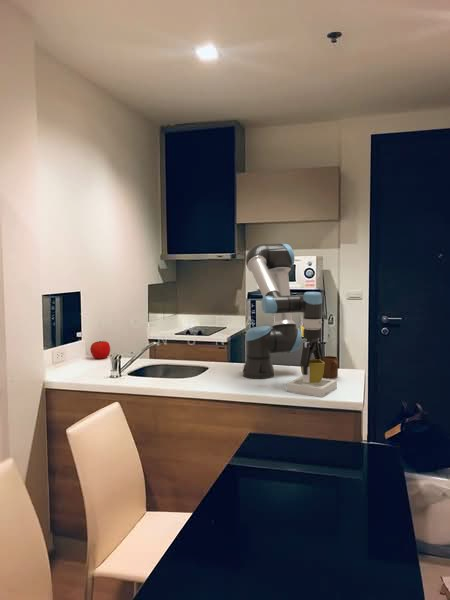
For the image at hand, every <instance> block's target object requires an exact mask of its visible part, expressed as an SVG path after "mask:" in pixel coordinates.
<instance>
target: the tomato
mask: <svg viewBox="0 0 450 600" xmlns="http://www.w3.org/2000/svg"><path fill="white" fill-rule="evenodd" d="M89 350H90V353H91V355H92V357H93V358H94V359H99V360H102V359H106V358H107V357H109V355H110V352H111V345H110V343H109V342H108V341H107V340H106V341H105V340H102V341H101V340H99V341H95V342H92V344H91V345H90V349H89Z"/></svg>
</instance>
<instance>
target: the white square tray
mask: <svg viewBox="0 0 450 600" xmlns="http://www.w3.org/2000/svg"><path fill="white" fill-rule="evenodd" d="M337 384H338V380H336V379H328V378H322V379H321V381H320V382H319V383H307V382H303V375H302V376H300V377H298V378H296V379H294V380H293V379H292V380H291V381H289V382H287V383H286V392H287V393H292V394H297V395H298V394H299V395H307V396H313V397H320V398H324V397H325V396H327V395H328V394H330V393H332V392H334V391H335V390H337V388H338V385H337Z"/></svg>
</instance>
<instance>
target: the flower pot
mask: <svg viewBox="0 0 450 600" xmlns="http://www.w3.org/2000/svg"><path fill="white" fill-rule="evenodd" d="M300 363H301V359H299V364H300ZM324 365H325V363H324V362H323V361H321V360H320V359H315V358H313V359H312V358H311V359H310V363H309V366H308V367H310V382H309V383H319V382H320V381H321V379H323V373H324ZM300 370H301V374H302V376H303V367H301V366H300Z"/></svg>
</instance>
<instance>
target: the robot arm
mask: <svg viewBox="0 0 450 600" xmlns="http://www.w3.org/2000/svg"><path fill="white" fill-rule="evenodd" d="M245 264H246V267H247V269H248V270H249V272H251V273H252V275H253V278H254V279H255V280H254V281H255V282H256V285H257V286H258V289H259V290H260V293H261V295H262V299H261V310H262V312H263V313H264V314H272V315H273V314H274V323H273V324H272V325H271V326H269V325H261V326H255V327H250V328H248V329H247V330H246V336H245V340H246V341H245V342H246V343H245V344H246V348H245V350H246V354H245V355H246V359H245V362H244V366H243V369H242V377H245V378H248V379H257V380H258V379H260V380H262V379H269V378H273V377H275V369H274V366H273V363H272V359H271V356H272V354H279V353H291V352H293V353H295V352H296V351H298V350H300V347H301V344H302V352H301V357H300V358H301V359H300V360H301V363H300V362H299V364H300V368H301V367H303V375H302V376H303V382H307V383H309V382H310V367H308V366H309V363H310V359H312V355H313V356H314V359H320V360H321V361H323V357H324V353H323V352H324V351H323V347H322V345H323V344H322V324H323V321H322V310H323V309H322V308H323V300H322V293H321V292H319V291H306V292H304V293H303V294H296V295H293V294H292V295H291V290H290V279H289V272H290V271H291V269H292V267H294V264H295V253H294V250H293V248H292V247H291V246H290V244H287V243H258V244H255V245H254V246H252V247H251V248H250V249H249V251H248V252H247V254H246V257H245ZM294 313H296V314H297V313H302V314H303V323H302V324H303V328H304V329H303V334H302V331H301V329H300V328H299V327H297V323H296V322H295V321H294V320H293V314H294ZM271 327H272V328H271ZM302 335H303V338H305V339H306V342H305V341H303V342H302V339H303V338H302Z"/></svg>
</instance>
